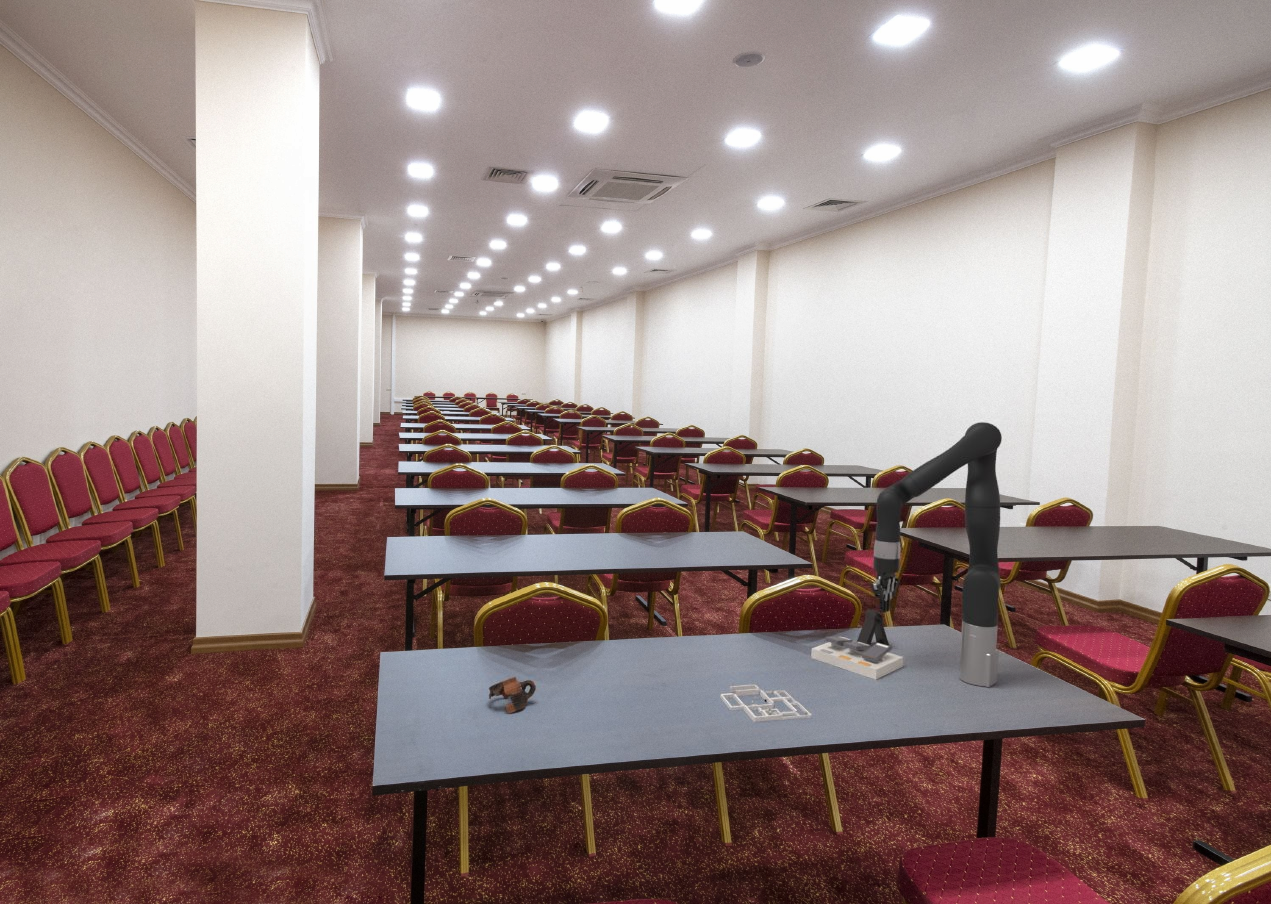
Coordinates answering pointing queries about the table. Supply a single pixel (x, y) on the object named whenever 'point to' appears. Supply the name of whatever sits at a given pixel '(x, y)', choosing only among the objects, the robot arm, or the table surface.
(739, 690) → the floor plan model
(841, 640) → the block
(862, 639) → the phone stand
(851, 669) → the switch unit
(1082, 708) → the table surface
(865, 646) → the block
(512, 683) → the pottery mug
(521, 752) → the table surface
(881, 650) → the rocker
